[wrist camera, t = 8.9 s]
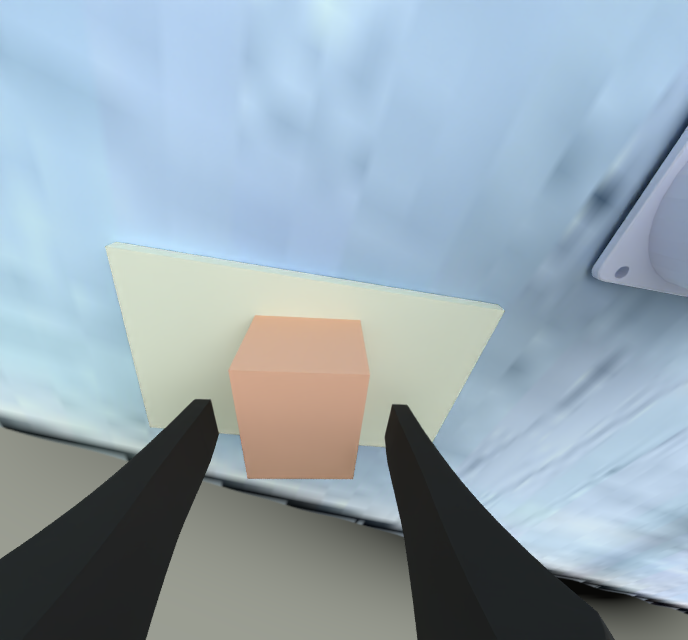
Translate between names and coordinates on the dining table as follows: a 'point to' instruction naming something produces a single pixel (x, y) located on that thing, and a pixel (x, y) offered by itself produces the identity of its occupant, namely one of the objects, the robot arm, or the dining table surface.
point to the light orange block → (300, 396)
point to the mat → (288, 301)
